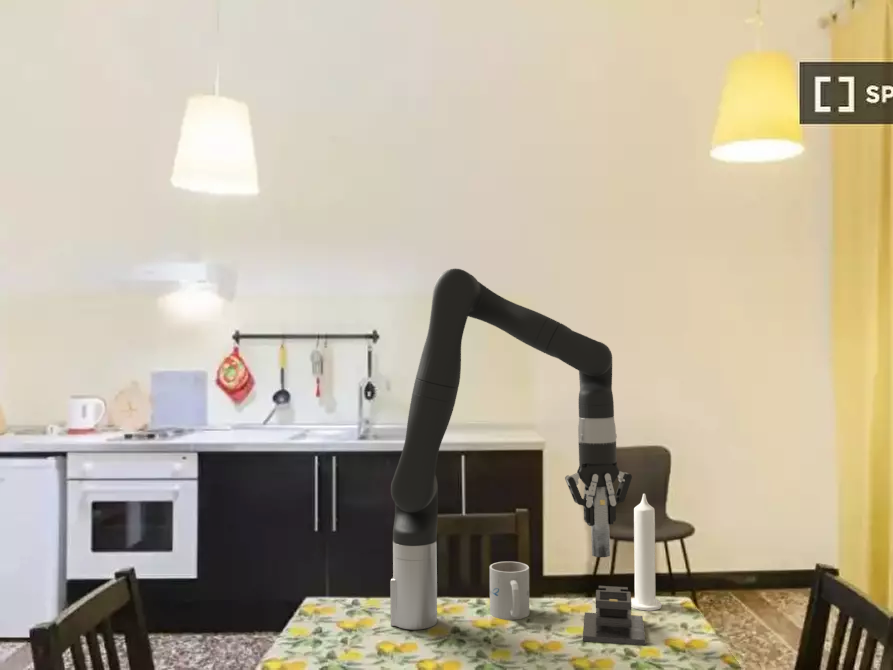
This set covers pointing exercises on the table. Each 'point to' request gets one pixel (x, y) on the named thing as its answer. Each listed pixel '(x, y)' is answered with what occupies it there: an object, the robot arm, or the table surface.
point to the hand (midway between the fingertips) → (600, 524)
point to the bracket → (613, 618)
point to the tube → (600, 523)
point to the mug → (509, 590)
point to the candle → (644, 557)
